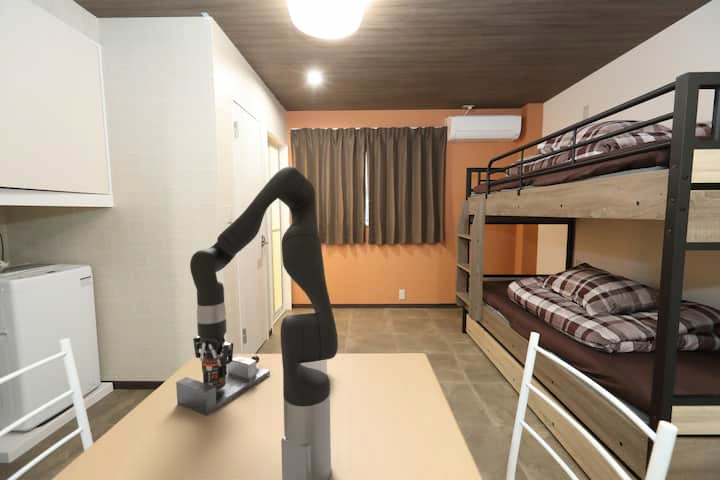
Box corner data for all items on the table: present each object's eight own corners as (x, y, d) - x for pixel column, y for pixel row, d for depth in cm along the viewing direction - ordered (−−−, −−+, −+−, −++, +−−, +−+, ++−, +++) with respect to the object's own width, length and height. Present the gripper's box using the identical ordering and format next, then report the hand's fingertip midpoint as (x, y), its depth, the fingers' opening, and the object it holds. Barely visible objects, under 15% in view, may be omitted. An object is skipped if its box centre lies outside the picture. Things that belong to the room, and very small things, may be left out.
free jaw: (248, 380, 100) (248, 365, 100) (227, 373, 104) (226, 359, 104) (268, 367, 108) (268, 353, 108) (248, 362, 112) (247, 348, 112)
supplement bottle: (213, 394, 90) (211, 355, 89) (199, 389, 93) (197, 351, 92) (230, 384, 95) (229, 347, 94) (216, 379, 98) (215, 343, 97)
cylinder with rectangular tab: (322, 383, 101) (322, 346, 100) (295, 381, 103) (294, 344, 102) (329, 369, 110) (329, 335, 109) (304, 367, 111) (303, 333, 110)
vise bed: (207, 415, 85) (205, 392, 85) (177, 404, 90) (176, 381, 90) (269, 374, 107) (269, 355, 106) (242, 367, 112) (242, 349, 111)
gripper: (240, 317, 93) (242, 374, 94) (205, 311, 99) (208, 364, 100) (218, 326, 86) (221, 386, 87) (183, 318, 92) (186, 375, 94)
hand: (214, 374), depth 94 cm, fingers closed on supplement bottle, 6 cm apart
